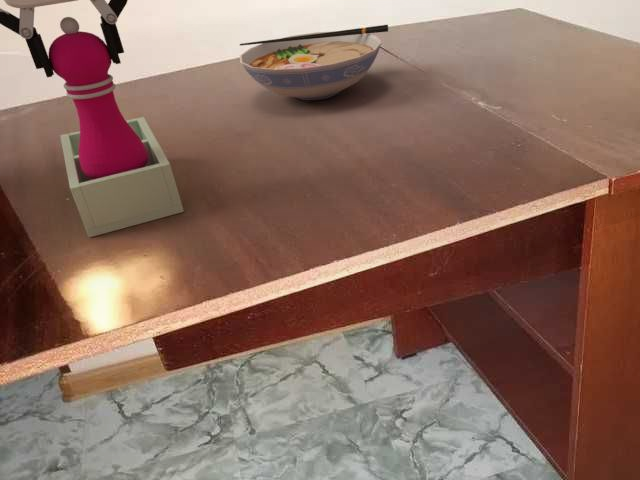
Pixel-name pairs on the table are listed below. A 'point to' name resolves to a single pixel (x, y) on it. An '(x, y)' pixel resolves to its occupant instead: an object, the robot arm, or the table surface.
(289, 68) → the ramen bowl
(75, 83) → the pepper mill
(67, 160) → the green divided box
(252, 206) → the table surface
